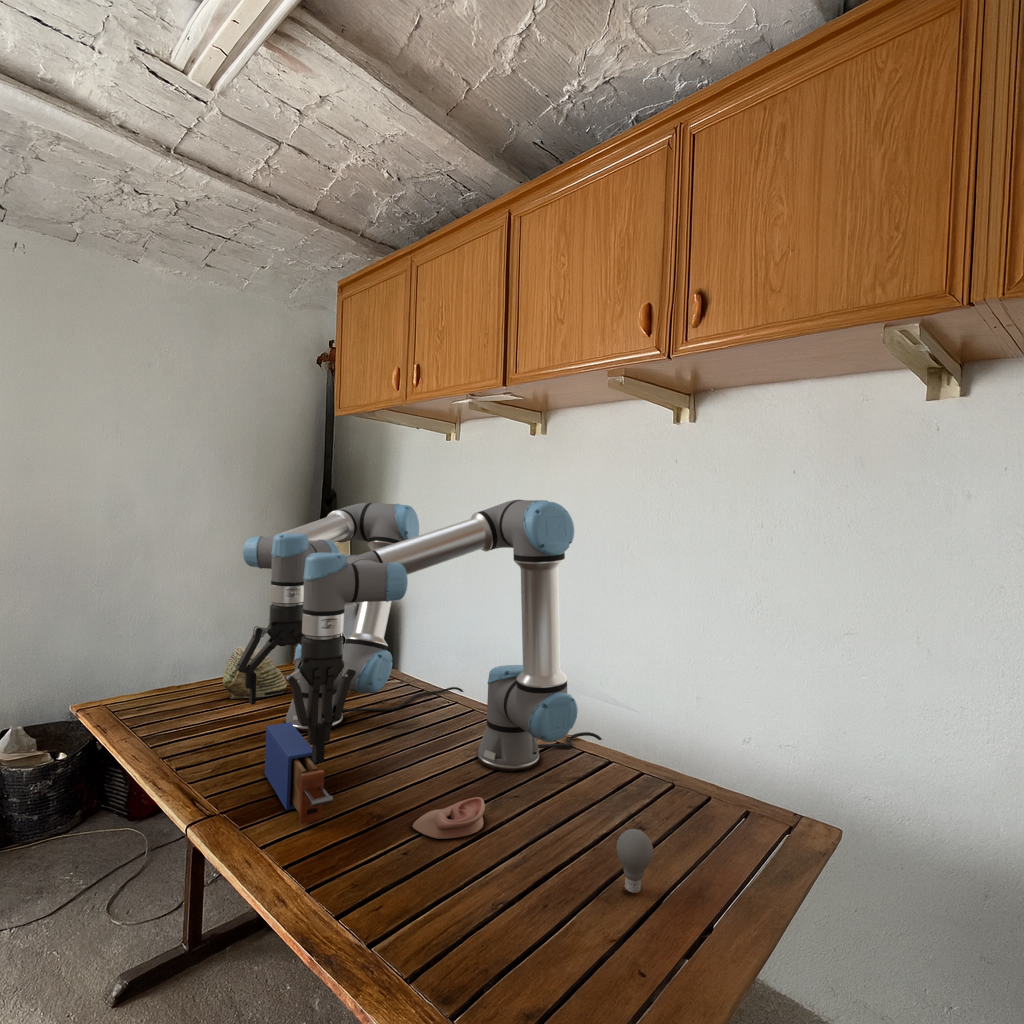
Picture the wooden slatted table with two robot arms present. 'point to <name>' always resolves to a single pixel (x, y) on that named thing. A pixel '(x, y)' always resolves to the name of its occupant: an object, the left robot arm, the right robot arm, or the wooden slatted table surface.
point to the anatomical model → (453, 820)
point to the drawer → (308, 790)
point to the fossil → (266, 677)
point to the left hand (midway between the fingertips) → (284, 698)
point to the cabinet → (283, 758)
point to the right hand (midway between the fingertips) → (317, 759)
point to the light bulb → (634, 857)
